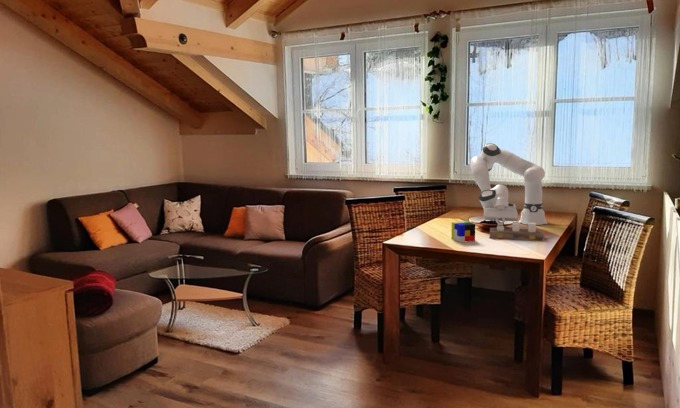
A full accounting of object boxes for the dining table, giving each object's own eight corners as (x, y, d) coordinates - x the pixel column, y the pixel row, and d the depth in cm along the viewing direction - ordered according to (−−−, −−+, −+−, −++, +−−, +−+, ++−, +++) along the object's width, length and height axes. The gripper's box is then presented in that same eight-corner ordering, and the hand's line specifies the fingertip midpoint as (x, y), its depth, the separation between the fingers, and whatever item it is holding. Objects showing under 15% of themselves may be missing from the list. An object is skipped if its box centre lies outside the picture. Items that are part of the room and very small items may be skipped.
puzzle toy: (459, 242, 300) (459, 225, 298) (451, 238, 309) (451, 222, 308) (474, 240, 303) (475, 224, 301) (466, 237, 312) (466, 221, 311)
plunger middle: (512, 231, 312) (512, 221, 311) (519, 231, 311) (519, 222, 310) (512, 232, 308) (512, 223, 308) (519, 233, 307) (519, 223, 306)
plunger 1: (496, 235, 315) (497, 225, 314) (503, 235, 314) (503, 226, 313) (496, 236, 312) (496, 227, 311) (503, 237, 310) (503, 227, 310)
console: (490, 233, 320) (490, 227, 320) (541, 236, 311) (541, 229, 311) (489, 238, 309) (489, 231, 308) (543, 240, 300) (543, 234, 299)
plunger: (528, 232, 310) (528, 222, 309) (535, 232, 308) (535, 222, 307) (528, 233, 306) (528, 223, 305) (535, 233, 305) (535, 223, 304)
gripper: (483, 203, 320) (482, 221, 313) (518, 204, 314) (517, 223, 307) (483, 209, 325) (482, 227, 318) (517, 210, 319) (517, 229, 311)
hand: (500, 225), depth 312 cm, fingers closed
